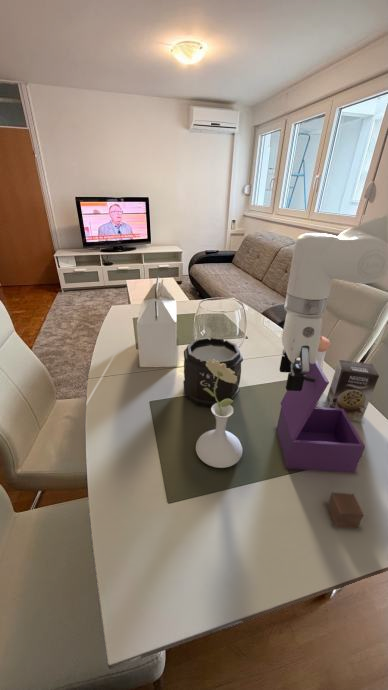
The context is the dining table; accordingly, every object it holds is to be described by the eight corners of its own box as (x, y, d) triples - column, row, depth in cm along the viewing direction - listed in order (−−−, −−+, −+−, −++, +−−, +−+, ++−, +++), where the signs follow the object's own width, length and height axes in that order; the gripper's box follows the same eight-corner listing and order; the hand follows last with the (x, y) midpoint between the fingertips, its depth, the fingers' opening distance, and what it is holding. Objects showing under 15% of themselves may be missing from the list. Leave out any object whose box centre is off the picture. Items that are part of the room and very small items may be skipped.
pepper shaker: (293, 389, 97) (305, 337, 88) (297, 378, 103) (309, 328, 94) (317, 396, 94) (331, 343, 85) (320, 384, 100) (334, 333, 91)
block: (348, 507, 62) (354, 493, 60) (357, 529, 58) (363, 515, 56) (326, 506, 62) (331, 492, 60) (334, 527, 58) (339, 513, 56)
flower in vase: (251, 460, 72) (265, 373, 60) (211, 480, 67) (218, 390, 55) (220, 426, 82) (227, 346, 70) (184, 441, 77) (184, 357, 65)
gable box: (176, 367, 107) (176, 292, 94) (139, 368, 106) (133, 292, 93) (176, 339, 127) (175, 273, 113) (145, 339, 126) (140, 273, 112)
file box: (334, 433, 80) (343, 408, 76) (354, 473, 69) (365, 446, 65) (276, 430, 81) (281, 405, 77) (286, 469, 70) (292, 442, 65)
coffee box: (327, 417, 86) (341, 370, 78) (324, 403, 91) (337, 358, 83) (361, 423, 84) (380, 376, 76) (356, 408, 89) (373, 363, 82)
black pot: (222, 371, 106) (225, 331, 98) (249, 401, 91) (255, 357, 84) (174, 381, 99) (173, 340, 92) (194, 416, 85) (196, 369, 77)
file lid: (310, 350, 69) (290, 345, 68) (329, 382, 58) (305, 376, 57) (283, 403, 76) (264, 399, 76) (294, 441, 65) (273, 436, 65)
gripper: (342, 322, 49) (319, 407, 58) (312, 289, 64) (297, 360, 73) (296, 320, 49) (280, 405, 58) (277, 288, 65) (266, 359, 73)
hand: (289, 379), depth 65 cm, fingers closed on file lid, 6 cm apart
